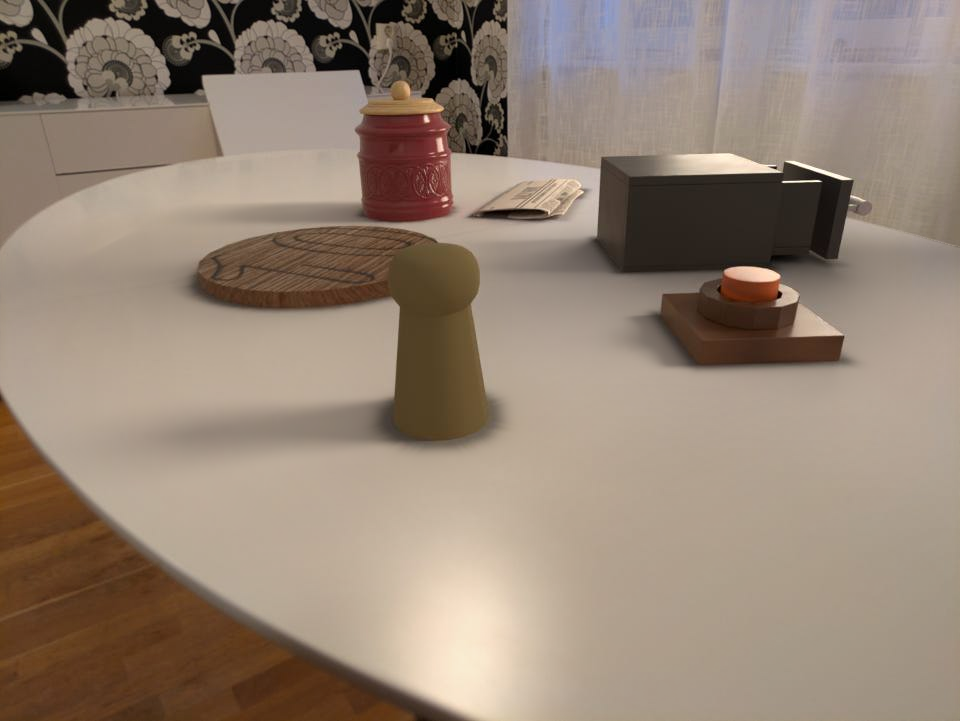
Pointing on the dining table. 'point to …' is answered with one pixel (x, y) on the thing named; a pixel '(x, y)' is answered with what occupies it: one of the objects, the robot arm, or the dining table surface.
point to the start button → (750, 284)
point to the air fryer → (687, 212)
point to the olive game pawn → (437, 343)
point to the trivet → (306, 266)
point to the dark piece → (813, 211)
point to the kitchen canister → (404, 158)
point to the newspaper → (536, 199)
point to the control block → (748, 328)
